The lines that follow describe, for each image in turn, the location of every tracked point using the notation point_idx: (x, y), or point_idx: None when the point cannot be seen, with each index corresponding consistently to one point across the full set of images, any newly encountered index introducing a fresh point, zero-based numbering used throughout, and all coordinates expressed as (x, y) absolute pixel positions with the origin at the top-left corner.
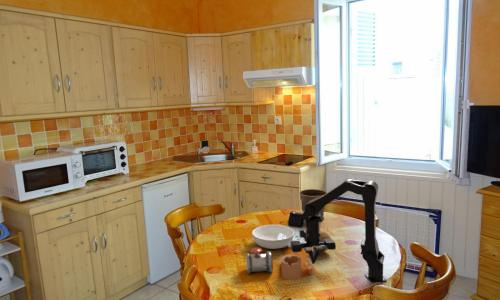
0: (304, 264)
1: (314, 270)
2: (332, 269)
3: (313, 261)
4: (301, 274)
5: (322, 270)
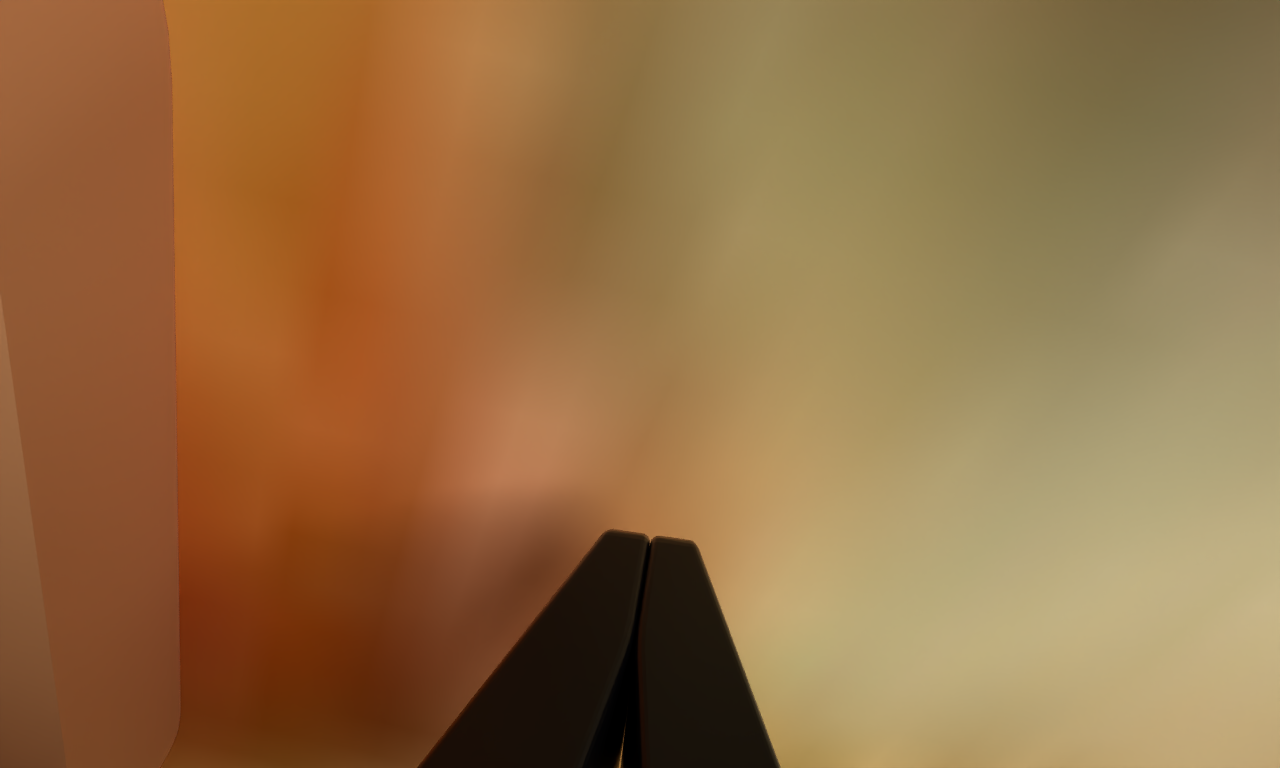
0: (353, 161)
1: None
2: (1268, 748)
3: (622, 761)
4: (166, 742)
5: (896, 703)
